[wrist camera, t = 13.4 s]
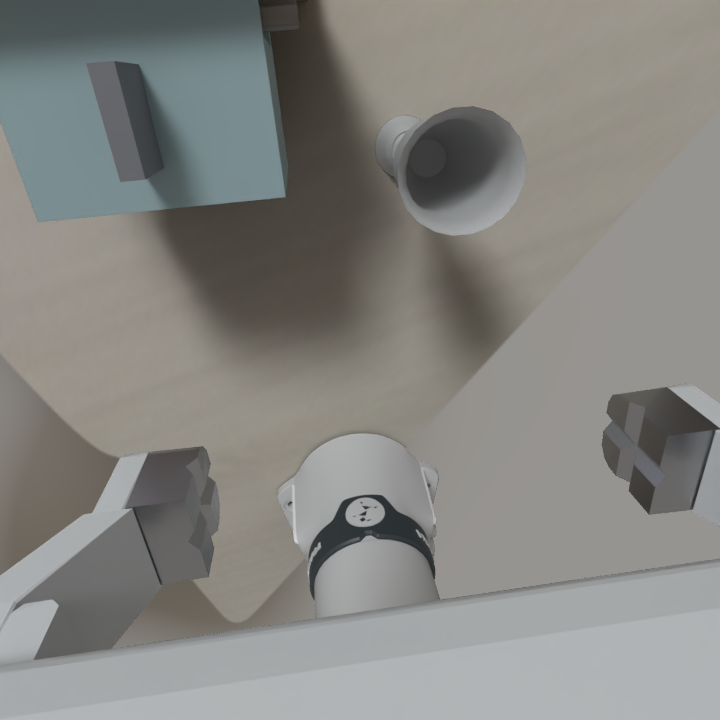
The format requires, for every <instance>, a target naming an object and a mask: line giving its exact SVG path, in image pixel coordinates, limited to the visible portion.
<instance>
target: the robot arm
mask: <svg viewBox="0 0 720 720" xmlns="http://www.w3.org/2000/svg"><path fill="white" fill-rule="evenodd" d="M607 414H608V415H609V417H610V418H611V419H612V422H611V423H610V424H609V425H608V427H607V428H606V429H605V430H604V431H603V439H602V448H603V453H604V458H605V460H606V462H607V464H608V466H609V468H610V469H611V470H612V471H613V473H614V474H615V475H616V476H618V477H620V478H622V479H624V480H626V481H629V482H630V485H629V492H630V493H631V494H632V495H633V496H634V498H635V499H636V500H637V501H638V502H639V503H640V505H641V506H642V507H643V508H644V509H645V510H646V512H647V513H648V514H659V513H668V512H676V511H685V510H693V512H694V513H696V514H697V515H699V516H701V517H703V518H704V519H706V520H708V521H710V522H711V523H713V524H715V525H717V526H718V527H720V404H718V403H717V402H716V401H714V400H713V399H711V398H710V397H709V396H707V395H706V394H704V393H703V392H702V391H700V390H699V389H697V388H696V387H695V386H692V385H689V384H680V385H674V386H667V387H661V388H657V389H651V390H644V391H636V392H630V393H623V394H616V395H612V397H611V399H610V400H609V402H608V408H607ZM210 465H211V463H210V460H209V457H208V453H207V450H206V449H205V448H204V447H203V446H201V447H192V448H182V449H173V450H163V451H154V452H145V453H137V454H130V455H125V456H123V457H121V458H120V459H119V461H118V463H117V465H116V467H115V469H114V471H113V473H112V475H111V477H110V479H109V481H108V483H107V485H106V487H105V489H104V491H103V493H102V495H101V497H100V499H99V501H98V503H97V505H96V507H95V509H94V511H93V513H92V514H85V515H83V516H81V517H80V518H78V519H77V520H76V521H74V522H73V523H72V524H70V525H69V526H68V527H66V528H65V529H63V530H62V531H61V532H59V533H58V534H57V535H55V536H54V537H52V538H51V539H50V540H48V541H47V542H46V543H44V544H43V545H42V546H40V547H39V548H38V549H36V550H35V551H34V552H32V553H31V554H29V555H28V556H27V557H25V558H24V559H22V560H21V561H20V562H18V563H17V564H16V565H14V566H13V567H12V568H10V569H9V570H7V571H6V572H5V573H3V574H2V575H1V576H0V720H720V559H714V560H707V561H700V562H693V563H686V564H680V565H673V566H666V567H660V568H652V569H646V570H639V571H632V572H625V573H619V574H612V575H605V576H598V577H591V578H584V579H578V580H570V581H564V582H557V583H550V584H544V585H537V586H530V587H523V588H517V589H510V590H504V591H497V592H490V593H483V594H477V595H470V596H463V597H457V598H451V599H443V600H440V598H439V594H438V591H437V588H436V585H435V581H434V579H435V566H434V558H433V556H434V550H435V549H434V541H433V538H432V537H435V536H436V526H435V524H436V517H435V512H434V509H433V502H434V497H435V493H436V489H437V484H438V480H439V477H438V472H437V469H436V468H435V467H433V466H432V465H429V464H427V463H425V462H422V461H419V460H417V459H416V458H415V457H414V456H413V455H412V454H411V453H410V452H409V451H408V450H407V449H406V448H405V447H403V446H402V445H401V444H399V443H398V442H396V441H394V440H392V439H390V438H387V437H384V436H380V435H375V434H363V433H362V434H351V435H346V436H342V437H338V438H335V439H333V440H331V441H329V442H327V443H325V444H323V445H321V446H320V447H318V448H317V449H316V450H315V451H313V452H312V453H311V454H310V455H309V456H308V458H307V459H306V460H305V461H304V463H303V464H302V466H301V468H300V469H299V471H298V473H297V474H296V475H295V476H294V477H293V478H291V479H290V480H288V481H287V482H286V483H284V484H283V485H282V486H281V487H280V488H279V489H278V492H277V494H278V501H279V503H280V505H281V507H282V509H283V512H284V514H285V516H286V518H287V520H288V522H289V524H290V526H291V528H292V530H293V534H294V542H295V543H296V544H299V547H300V550H301V552H302V554H303V555H304V557H305V559H306V561H307V562H308V579H309V584H310V591H311V594H312V597H313V599H314V601H315V619H309V620H302V621H295V622H289V623H282V624H275V625H269V626H262V627H255V628H248V629H241V630H235V631H228V632H221V633H214V634H207V635H201V636H194V637H187V638H180V639H174V640H167V641H160V642H153V643H147V644H140V645H133V646H126V647H120V648H113V649H111V648H112V647H113V646H114V645H115V644H116V642H117V641H118V640H119V639H120V637H121V636H122V635H123V634H124V633H125V631H126V630H127V629H128V628H129V626H130V625H131V624H132V623H133V621H134V620H135V619H136V618H137V617H138V616H139V614H140V613H141V612H142V610H143V609H144V608H145V607H146V606H147V605H148V603H149V602H150V601H151V600H152V598H153V597H154V596H155V595H156V594H157V592H158V591H159V590H160V589H161V585H164V584H170V583H176V582H182V581H188V580H194V579H200V578H205V577H209V572H210V567H211V562H212V557H213V552H214V546H213V542H212V539H211V536H212V535H213V534H214V533H215V532H216V531H217V530H218V525H219V519H220V503H219V495H218V490H217V486H216V482H215V481H214V480H212V479H211V478H210V477H208V473H209V469H210ZM427 483H429V484H427ZM289 502H292V503H289Z"/></svg>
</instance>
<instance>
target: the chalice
mask: <svg viewBox="0 0 720 720" xmlns="http://www.w3.org/2000/svg"><path fill="white" fill-rule="evenodd" d="M375 154H376V158H377V160H378V163H379V165H380V166H381V167H382V169H383V170H384V171H385V172H386V173H388V174H389V175H391V176H393V177H394V178H395V180H396V183H397V185H398V188H399V192H400V194H401V197H402V199H403V202H404V204H405V207H406V209H407V210H408V211H409V212H410V213H411V215H412V216H413V217H414V218H415V219H416V220H417V221H418V223H420V224H422V225H424V226H425V227H427V228H429V229H431V230H432V231H434V232H438V233H442V234H447V235H452V236H454V235H466V234H473V233H475V232H478V231H481V230H483V229H486V228H488V227H490V226H491V225H493V224H494V223H495V222H497V221H498V220H499V219H501V218H502V217H503V216H505V215H506V214H507V212H508V211H509V210H510V208H511V207H512V206H513V204H514V203H515V202H516V200H517V199H518V197H519V194H520V191H521V189H522V186H523V183H524V181H525V172H526V156H525V152H524V149H523V145H522V142H521V139H520V137H519V136H518V134H517V133H516V132H515V130H514V129H513V127H512V126H511V125H510V123H509V122H507V121H506V120H504V119H503V118H502V117H500V116H499V115H497V114H496V113H494V112H493V111H489V110H485V109H481V108H478V107H474V106H472V107H456V108H451V109H448V110H446V111H443V112H441V113H438V114H436V115H433V116H431V117H428V118H426V119H423V120H421V121H420V120H419V119H418V118H415V117H412V116H408V115H407V116H398V117H396V118H393V119H391V120H389V121H388V122H387V123H386V124H385V125H384V126H383V127H382V128H381V130H380V132H379V133H378V135H377V139H376V143H375Z"/></svg>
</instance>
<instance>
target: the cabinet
mask: <svg viewBox="0 0 720 720" xmlns="http://www.w3.org/2000/svg"><path fill="white" fill-rule="evenodd" d="M259 4H261V0H0V122H1V125H2V127H3V130H4V133H5V135H6V138H7V141H8V143H9V146H10V149H11V151H12V154H13V157H14V159H15V162H16V165H17V167H18V170H19V173H20V175H21V178H22V181H23V183H24V186H25V189H26V191H27V194H28V197H29V199H30V202H31V205H32V207H33V210H34V213H35V216H36V218H37V221H38V222H46V221H56V220H65V219H75V218H85V217H95V216H105V215H115V214H125V213H135V212H144V211H154V210H164V209H174V208H184V207H194V206H204V205H213V204H223V203H233V202H243V201H253V200H263V199H273V198H282V197H286V190H287V180H288V171H289V169H288V161H287V154H286V147H285V140H284V132H283V125H282V118H281V110H280V103H279V96H278V88H277V81H276V74H275V67H274V59H273V52H272V45H271V37H270V32H264V33H263V29H262V21H261V14H260V7H259Z"/></svg>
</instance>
